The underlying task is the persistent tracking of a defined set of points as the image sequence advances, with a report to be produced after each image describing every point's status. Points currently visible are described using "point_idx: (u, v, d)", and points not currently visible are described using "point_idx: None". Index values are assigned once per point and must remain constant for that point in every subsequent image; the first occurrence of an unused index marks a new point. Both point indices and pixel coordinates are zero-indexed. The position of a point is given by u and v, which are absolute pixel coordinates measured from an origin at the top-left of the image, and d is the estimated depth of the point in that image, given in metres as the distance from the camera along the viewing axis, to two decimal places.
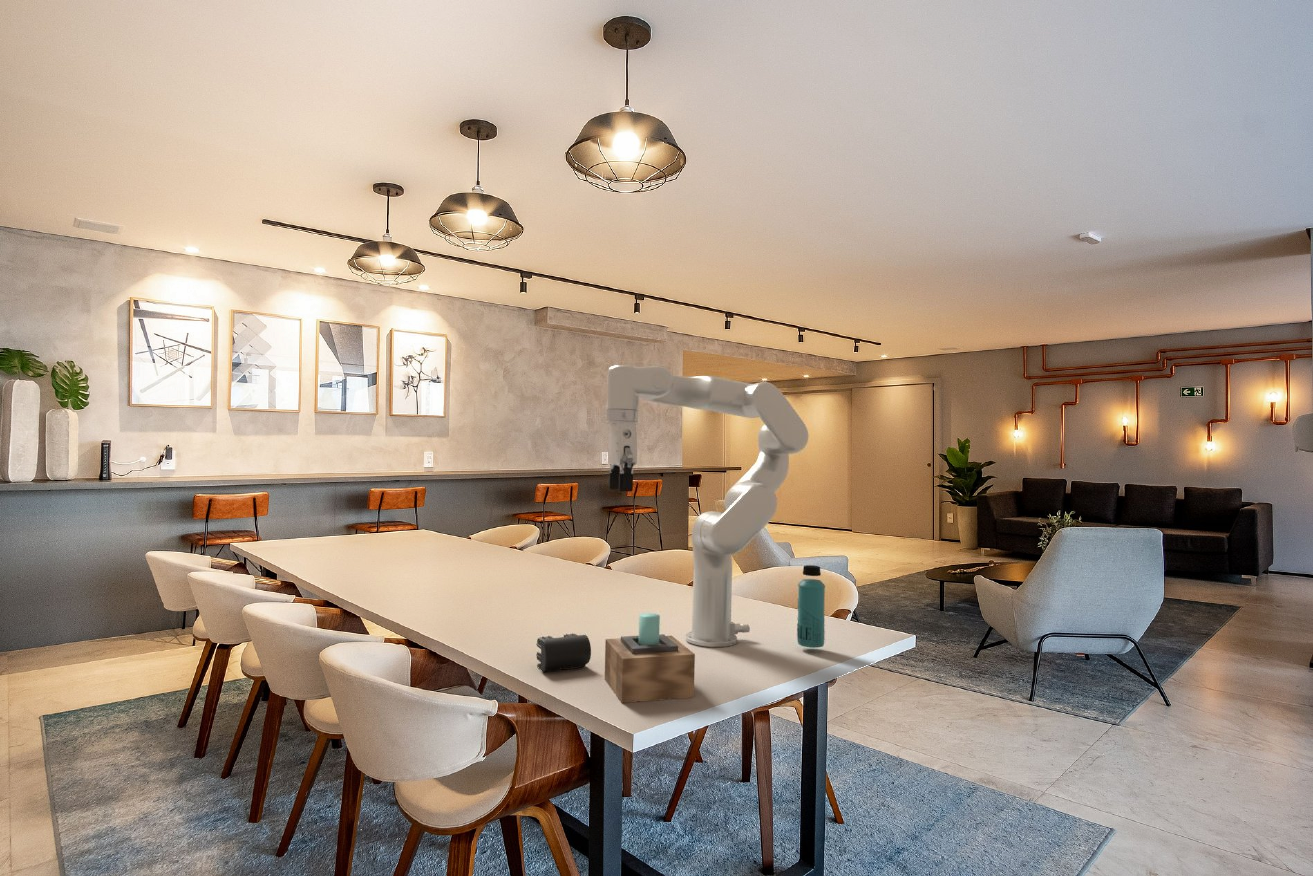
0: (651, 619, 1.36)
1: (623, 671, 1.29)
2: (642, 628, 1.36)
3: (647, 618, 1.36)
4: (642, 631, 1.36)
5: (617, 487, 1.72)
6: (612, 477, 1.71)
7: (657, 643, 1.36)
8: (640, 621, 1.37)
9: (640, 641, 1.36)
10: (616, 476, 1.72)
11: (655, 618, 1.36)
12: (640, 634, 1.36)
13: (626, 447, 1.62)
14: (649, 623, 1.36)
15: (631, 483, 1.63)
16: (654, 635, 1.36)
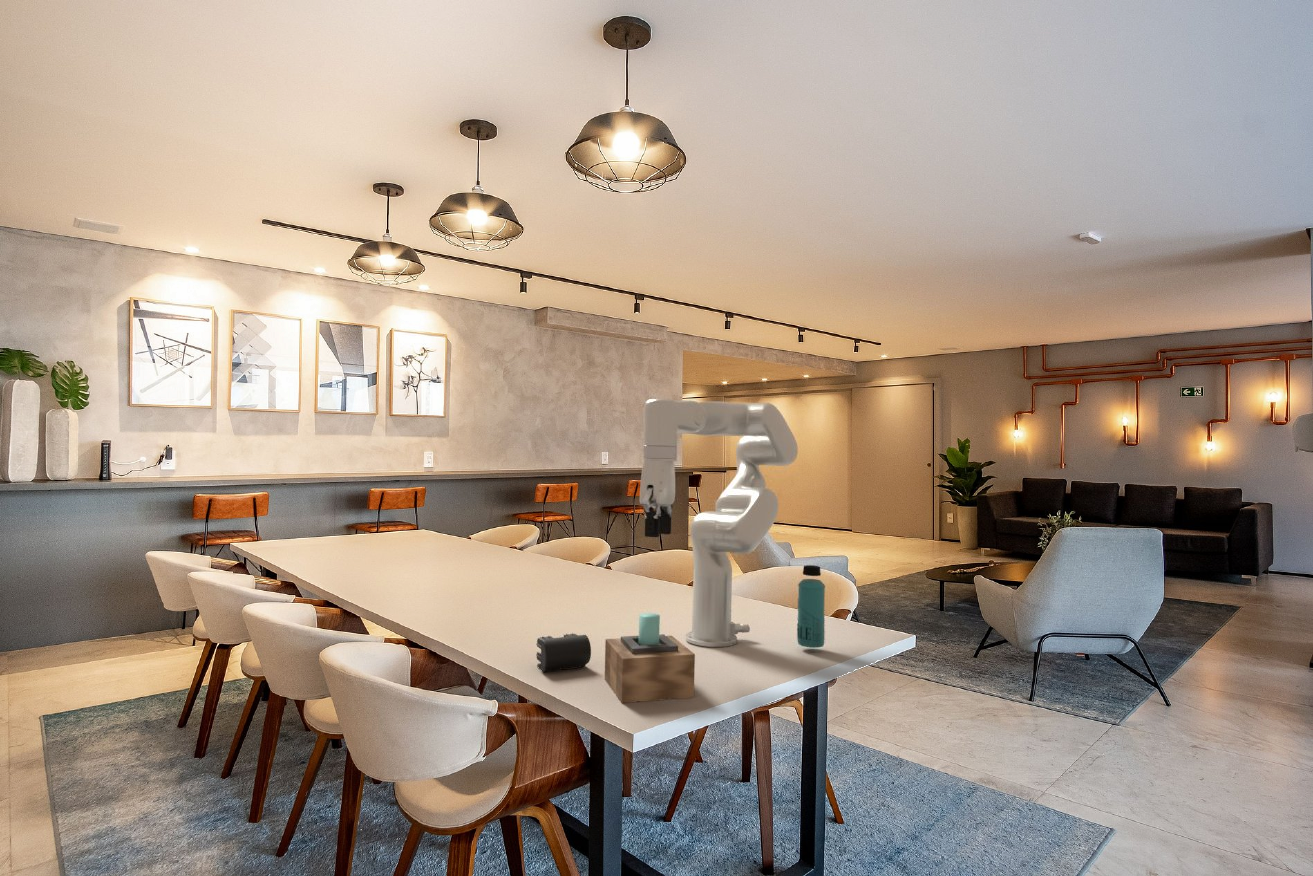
0: (651, 619, 1.36)
1: (623, 671, 1.29)
2: (642, 628, 1.36)
3: (647, 618, 1.36)
4: (642, 631, 1.36)
5: None
6: None
7: (657, 643, 1.36)
8: (640, 621, 1.37)
9: (640, 641, 1.36)
10: None
11: (655, 618, 1.36)
12: (640, 634, 1.36)
13: None
14: (649, 623, 1.36)
15: None
16: (654, 635, 1.36)
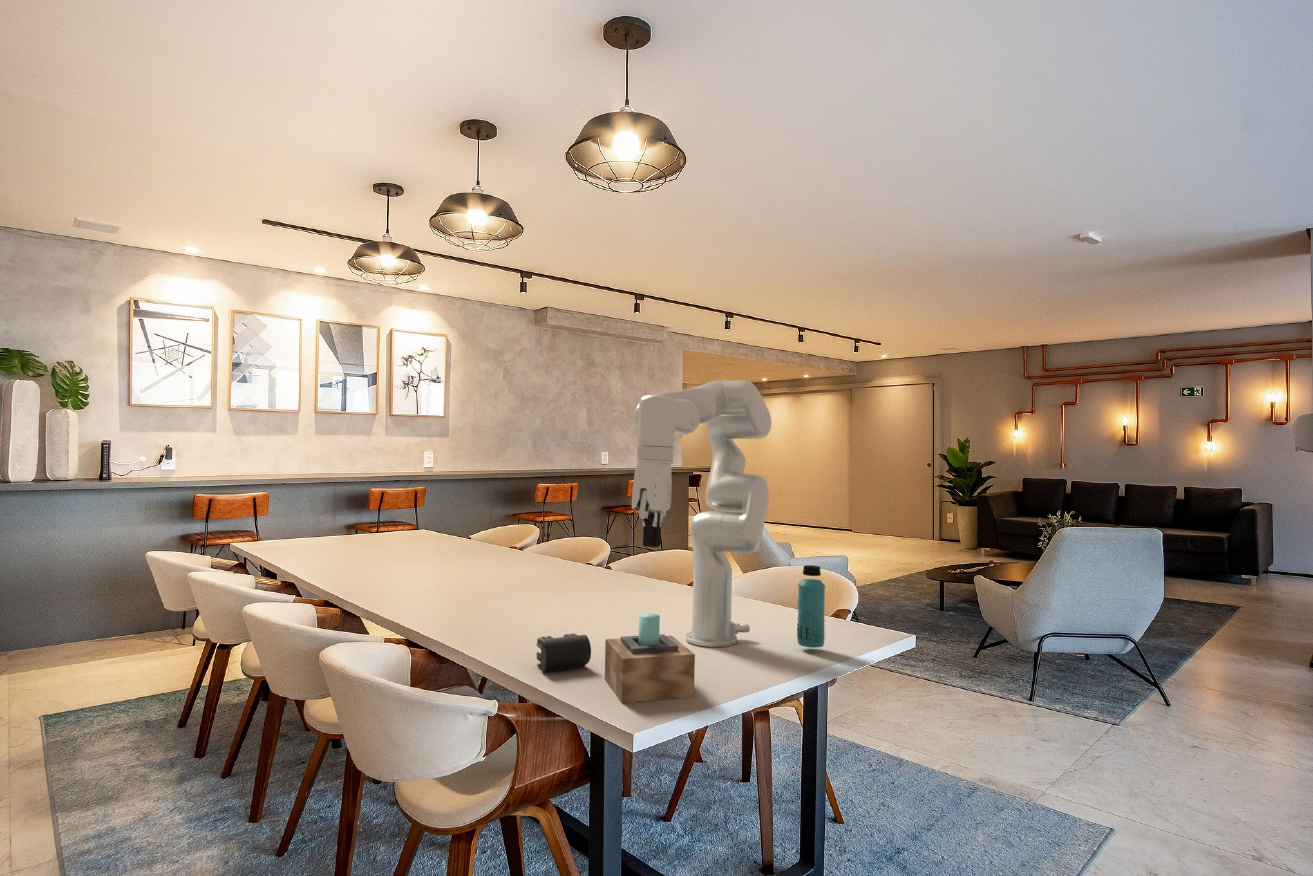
0: (651, 619, 1.36)
1: (623, 671, 1.29)
2: (642, 628, 1.36)
3: (647, 618, 1.36)
4: (642, 631, 1.36)
5: None
6: None
7: (657, 643, 1.36)
8: (640, 621, 1.37)
9: (640, 641, 1.36)
10: None
11: (655, 618, 1.36)
12: (640, 634, 1.36)
13: None
14: (649, 623, 1.36)
15: None
16: (654, 635, 1.36)
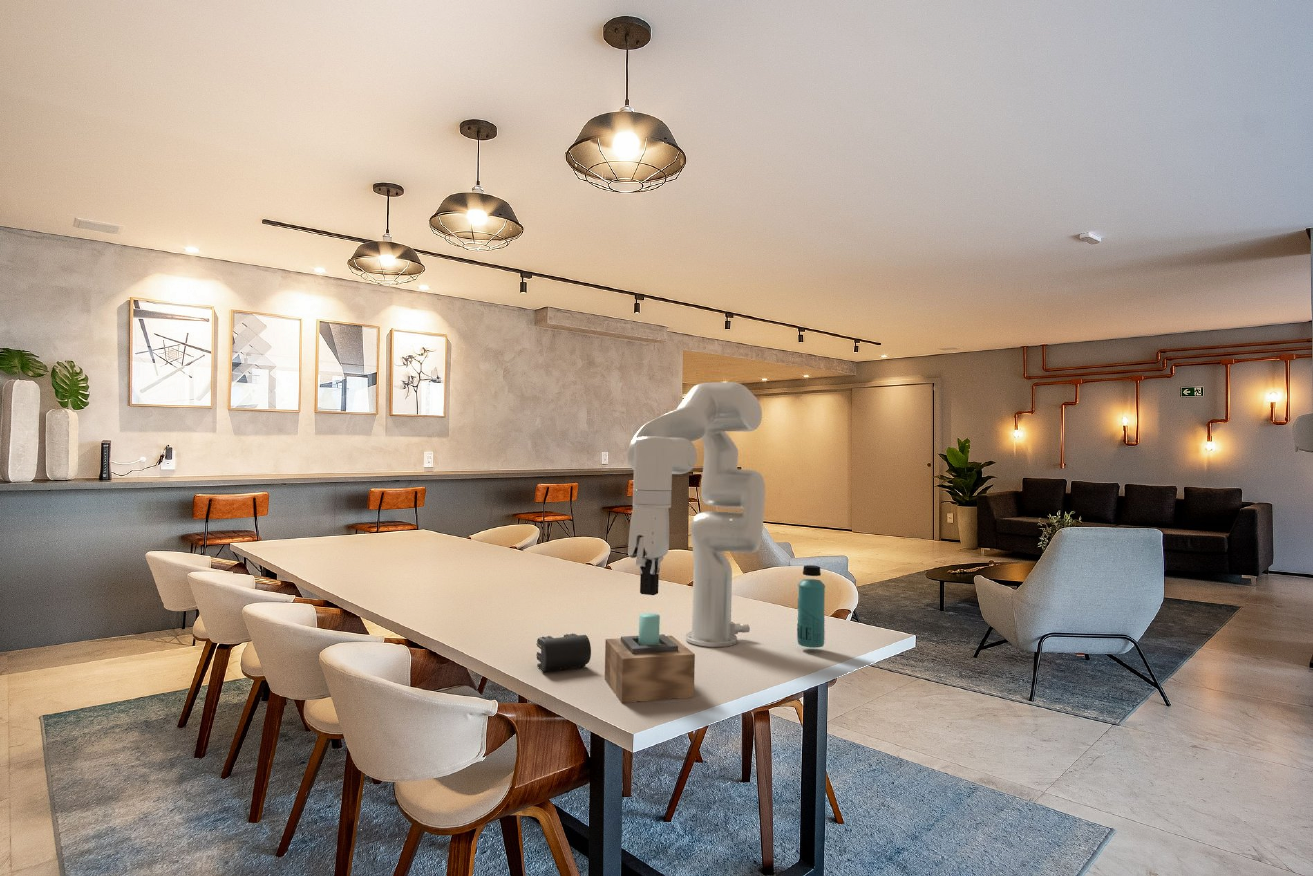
0: (651, 619, 1.36)
1: (623, 671, 1.29)
2: (642, 628, 1.36)
3: (647, 618, 1.36)
4: (642, 631, 1.36)
5: None
6: None
7: (657, 643, 1.36)
8: (640, 621, 1.37)
9: (640, 641, 1.36)
10: None
11: (655, 618, 1.36)
12: (640, 634, 1.36)
13: None
14: (649, 623, 1.36)
15: None
16: (654, 635, 1.36)
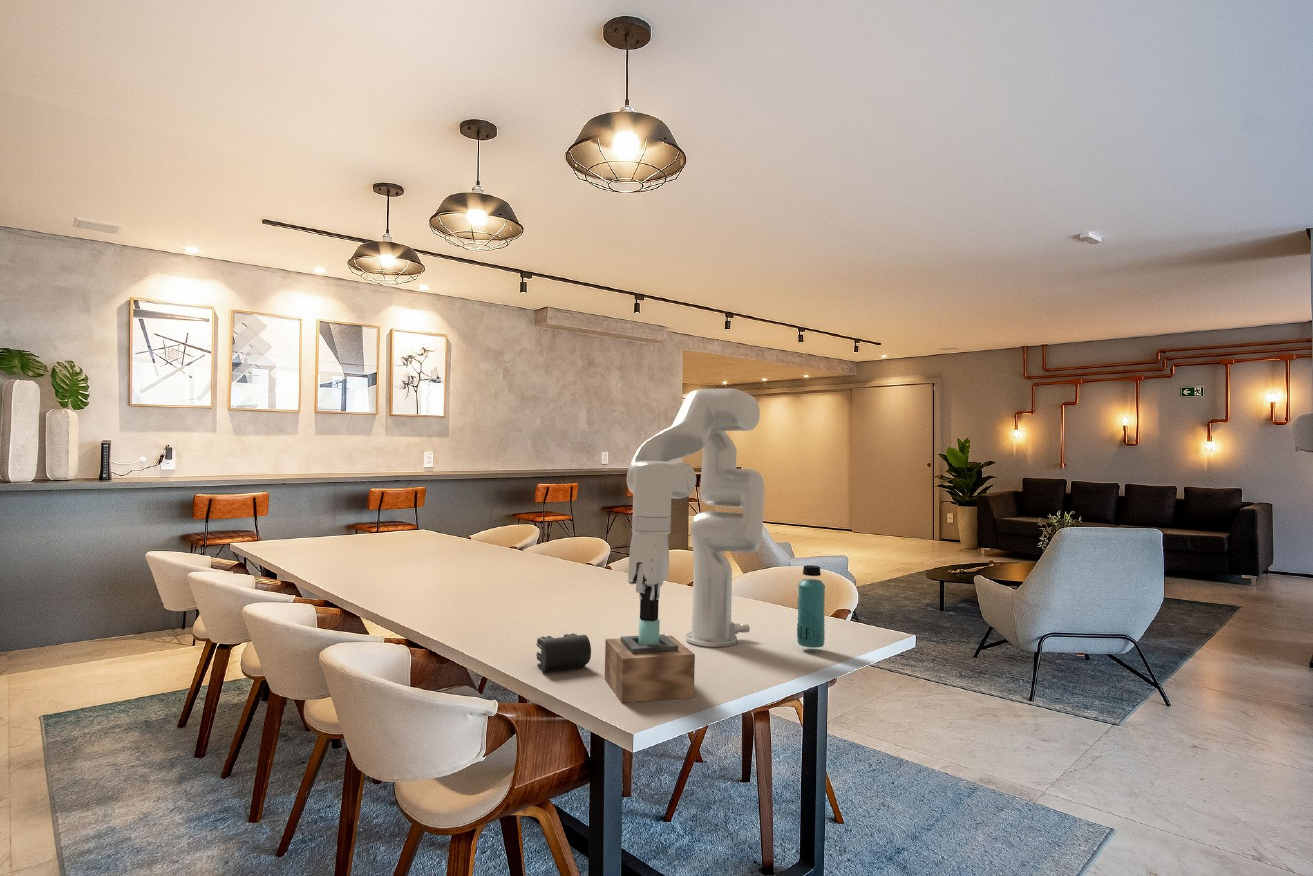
0: (651, 623, 1.36)
1: (623, 671, 1.29)
2: (642, 632, 1.36)
3: (647, 622, 1.36)
4: (642, 635, 1.36)
5: None
6: None
7: None
8: (640, 625, 1.37)
9: (640, 645, 1.36)
10: None
11: (655, 622, 1.36)
12: (640, 638, 1.36)
13: None
14: (649, 627, 1.36)
15: None
16: (654, 639, 1.36)
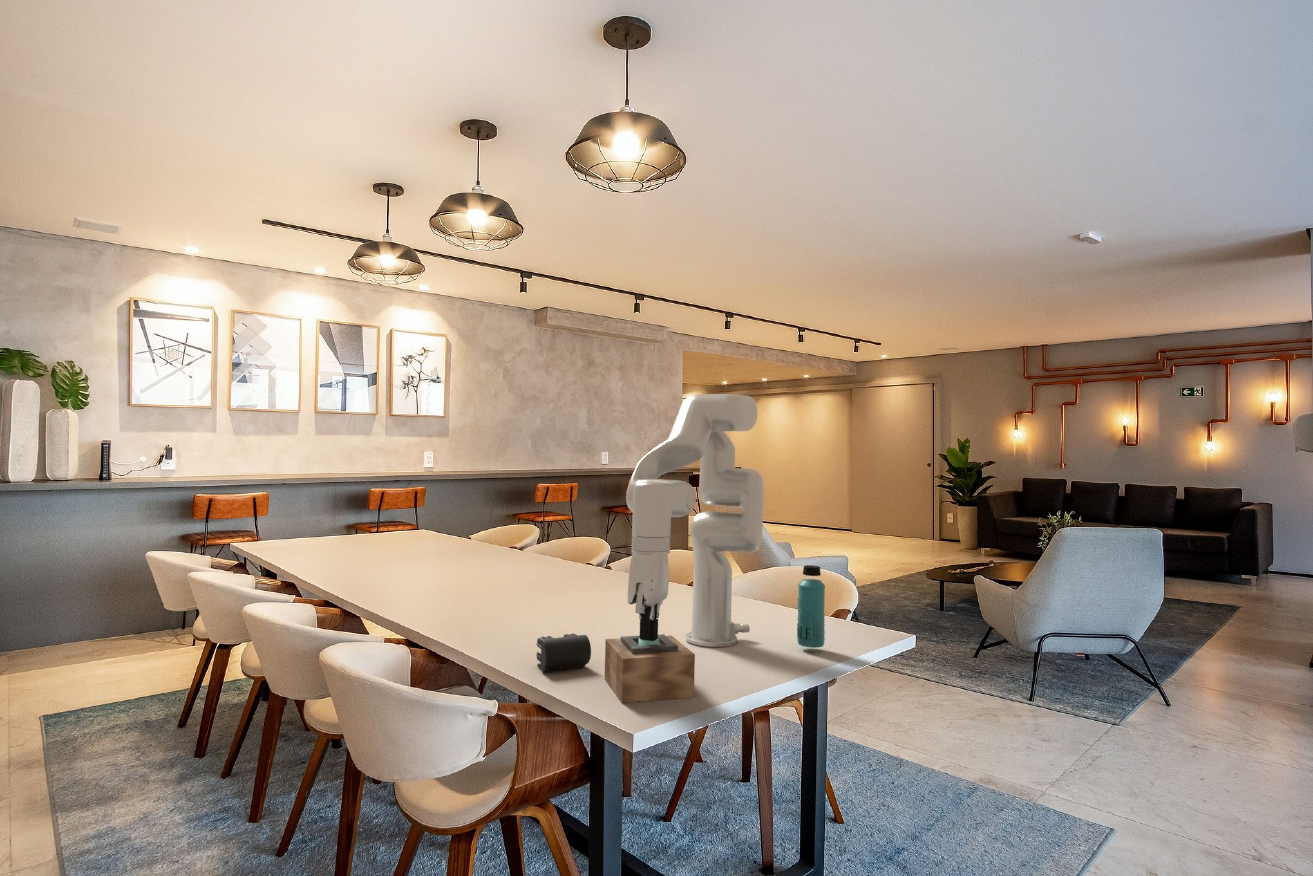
0: (650, 643, 1.36)
1: (623, 671, 1.29)
2: None
3: (646, 642, 1.36)
4: None
5: None
6: None
7: None
8: (639, 645, 1.37)
9: None
10: None
11: (654, 642, 1.36)
12: None
13: None
14: None
15: None
16: None
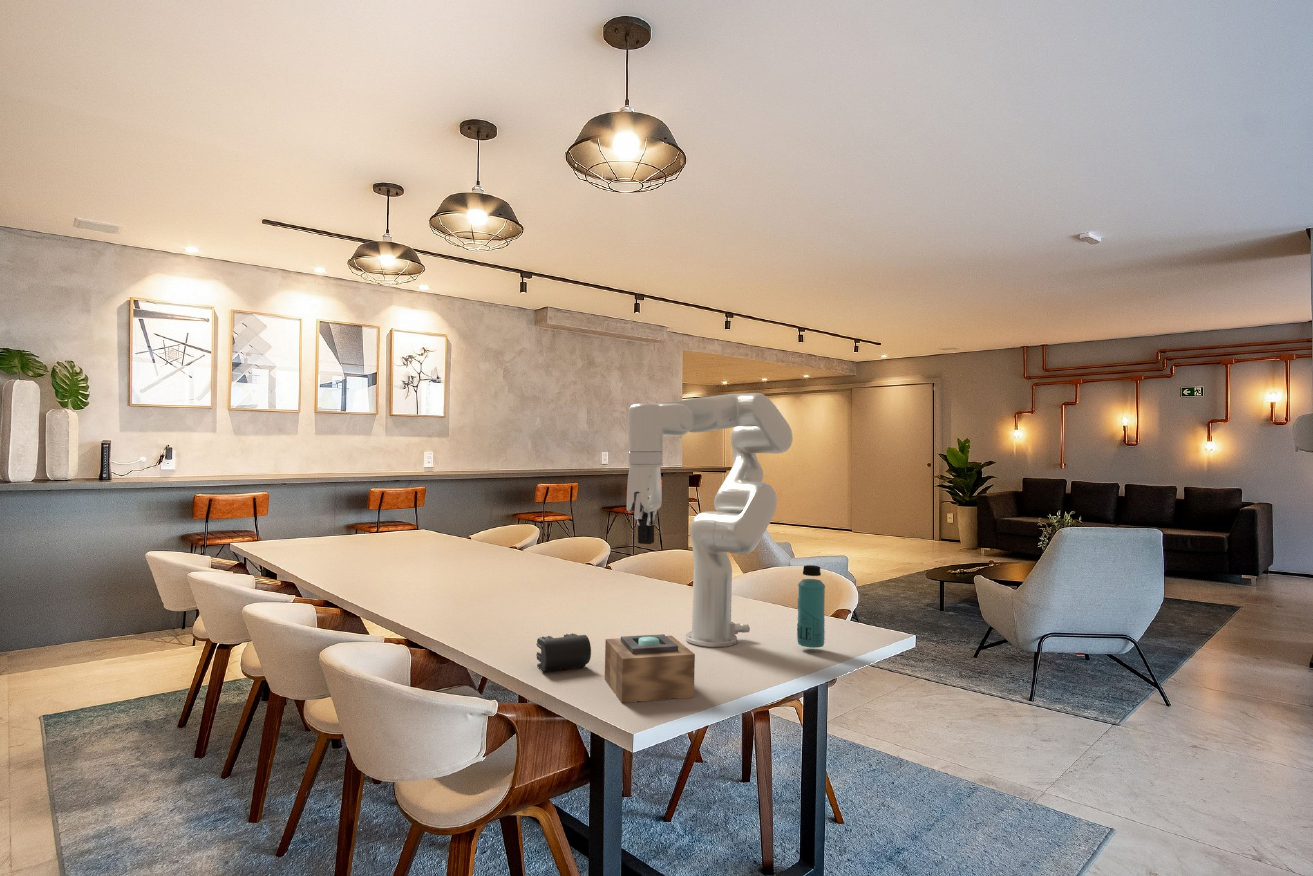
0: (650, 643, 1.36)
1: (623, 671, 1.29)
2: None
3: (646, 642, 1.36)
4: None
5: None
6: None
7: None
8: (639, 645, 1.37)
9: None
10: None
11: (654, 642, 1.36)
12: None
13: None
14: None
15: None
16: None
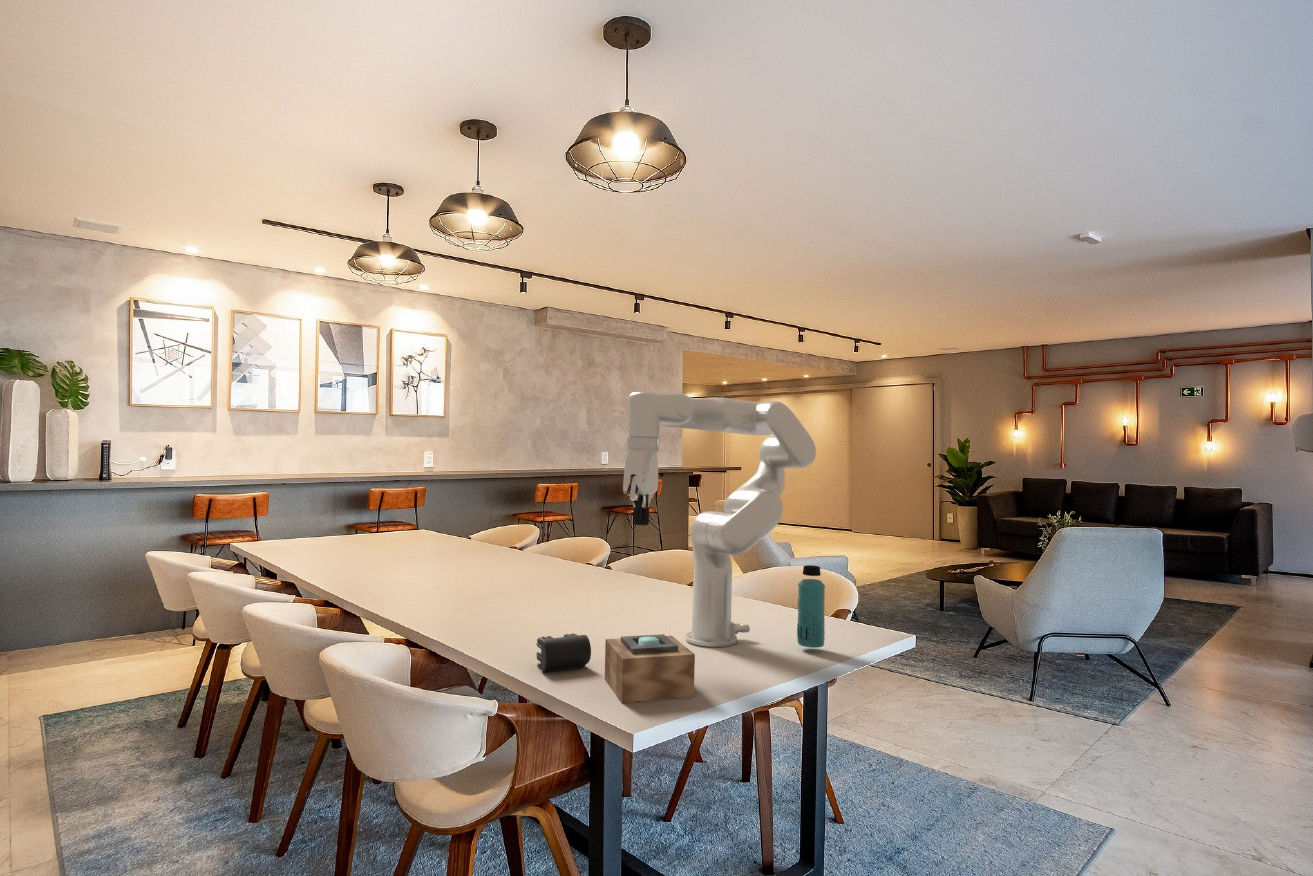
0: (650, 643, 1.36)
1: (623, 671, 1.29)
2: None
3: (646, 642, 1.36)
4: None
5: None
6: None
7: None
8: (639, 645, 1.37)
9: None
10: None
11: (654, 642, 1.36)
12: None
13: None
14: None
15: None
16: None
